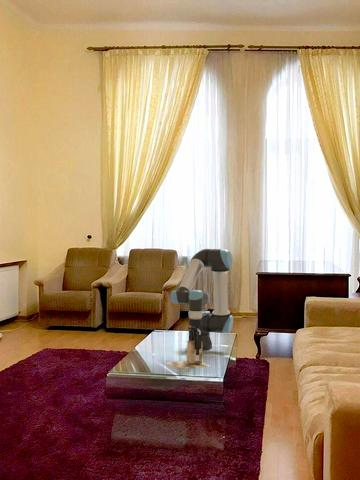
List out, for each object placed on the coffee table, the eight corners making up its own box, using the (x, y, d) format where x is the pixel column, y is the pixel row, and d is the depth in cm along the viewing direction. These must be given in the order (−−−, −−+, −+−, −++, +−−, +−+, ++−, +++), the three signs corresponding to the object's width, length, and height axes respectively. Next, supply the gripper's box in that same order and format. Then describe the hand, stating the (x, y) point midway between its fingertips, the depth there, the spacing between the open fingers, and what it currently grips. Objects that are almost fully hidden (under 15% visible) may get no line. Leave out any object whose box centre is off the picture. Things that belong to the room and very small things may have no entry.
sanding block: (198, 361, 309) (198, 339, 308) (202, 363, 304) (202, 341, 304) (187, 362, 306) (187, 340, 306) (190, 364, 301) (190, 342, 301)
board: (198, 361, 315) (198, 359, 315) (210, 368, 300) (210, 366, 300) (165, 364, 307) (166, 362, 307) (176, 371, 292) (176, 369, 292)
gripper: (182, 315, 311) (182, 356, 312) (195, 321, 295) (195, 363, 295) (194, 315, 314) (194, 355, 315) (208, 320, 298) (207, 362, 298)
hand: (194, 359), depth 305 cm, fingers closed on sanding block, 5 cm apart
